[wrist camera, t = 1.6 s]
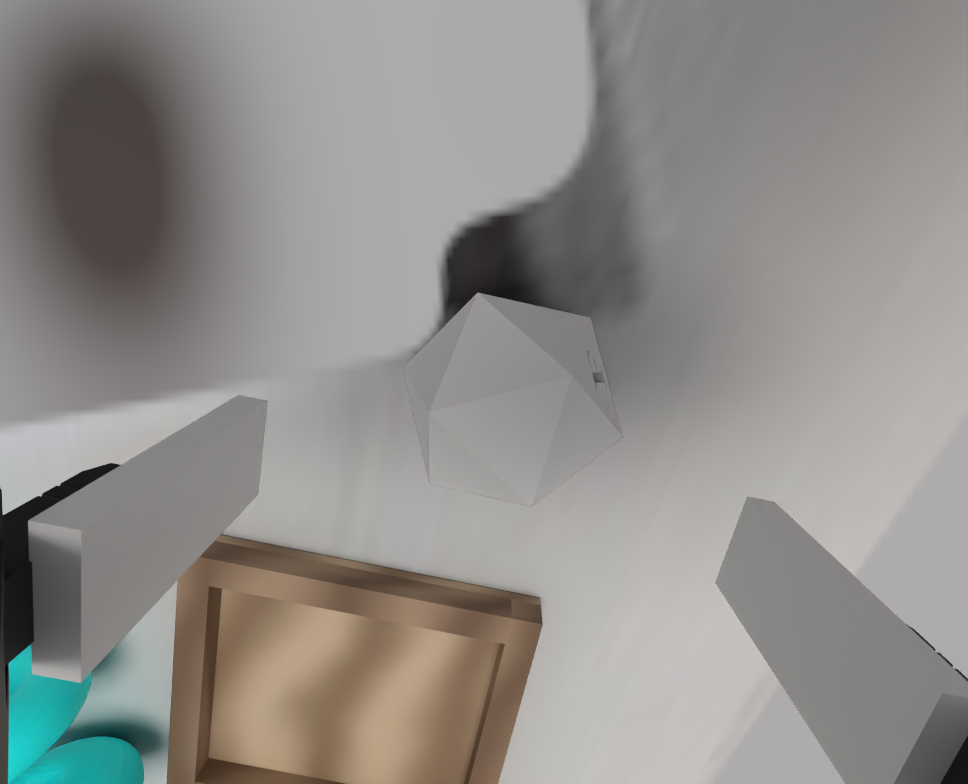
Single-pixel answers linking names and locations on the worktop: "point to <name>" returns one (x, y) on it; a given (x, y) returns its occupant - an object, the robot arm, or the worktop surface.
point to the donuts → (59, 734)
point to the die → (510, 400)
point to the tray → (341, 672)
